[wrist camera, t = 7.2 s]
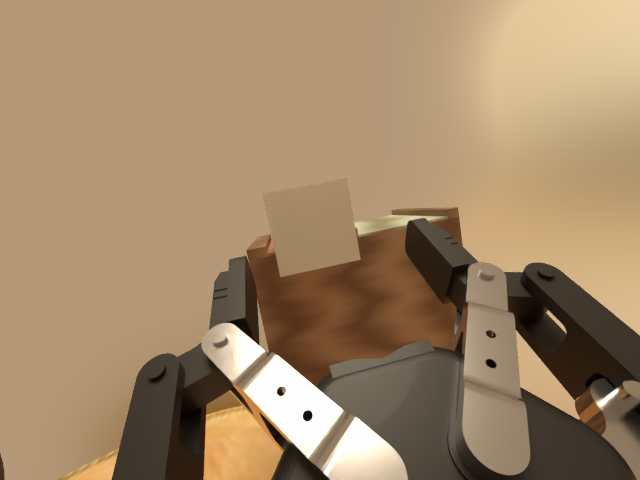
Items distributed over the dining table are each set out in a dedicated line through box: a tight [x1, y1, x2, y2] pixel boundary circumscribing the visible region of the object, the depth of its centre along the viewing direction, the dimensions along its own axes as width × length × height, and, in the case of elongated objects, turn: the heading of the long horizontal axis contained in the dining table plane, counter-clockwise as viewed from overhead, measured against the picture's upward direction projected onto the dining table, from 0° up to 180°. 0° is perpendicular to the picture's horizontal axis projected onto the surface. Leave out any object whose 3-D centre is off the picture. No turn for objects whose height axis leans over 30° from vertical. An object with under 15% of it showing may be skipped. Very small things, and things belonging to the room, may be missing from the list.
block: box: [263, 179, 361, 277], centre depth 25 cm, size 4×24×4 cm, turn 8°
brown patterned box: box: [247, 207, 462, 386], centre depth 31 cm, size 18×12×33 cm, turn 98°
